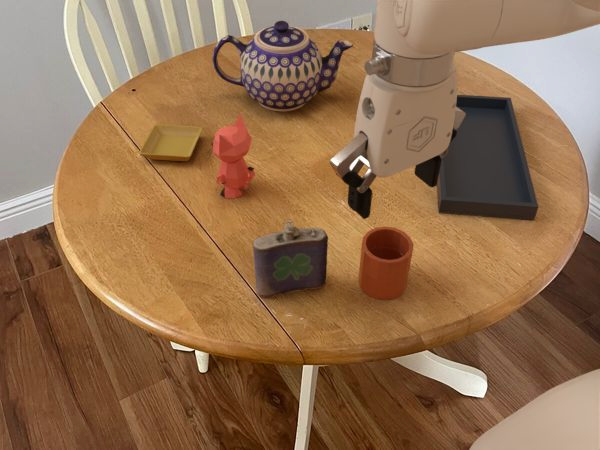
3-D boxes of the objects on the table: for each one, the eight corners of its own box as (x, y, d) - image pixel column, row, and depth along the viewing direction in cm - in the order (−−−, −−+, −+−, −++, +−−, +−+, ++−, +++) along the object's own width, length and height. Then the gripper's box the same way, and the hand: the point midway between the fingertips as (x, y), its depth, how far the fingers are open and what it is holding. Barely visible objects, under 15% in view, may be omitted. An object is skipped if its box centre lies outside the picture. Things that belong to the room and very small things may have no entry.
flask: (258, 300, 74) (253, 240, 67) (254, 283, 76) (249, 223, 69) (328, 287, 76) (331, 227, 68) (322, 271, 78) (324, 211, 70)
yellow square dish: (140, 163, 95) (137, 153, 94) (156, 133, 101) (154, 123, 100) (191, 167, 94) (190, 157, 93) (205, 136, 101) (203, 126, 99)
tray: (533, 220, 85) (538, 206, 83) (438, 212, 86) (441, 199, 84) (507, 110, 106) (510, 97, 104) (431, 105, 107) (433, 93, 106)
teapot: (209, 116, 105) (199, 39, 95) (224, 75, 116) (217, 1, 106) (348, 122, 103) (353, 44, 93) (351, 80, 114) (355, 5, 104)
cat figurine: (229, 170, 94) (221, 106, 85) (267, 181, 92) (263, 116, 83) (206, 197, 89) (195, 131, 81) (245, 209, 87) (239, 142, 79)
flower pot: (416, 287, 76) (423, 249, 71) (378, 307, 73) (383, 270, 68) (386, 257, 79) (391, 220, 75) (349, 276, 77) (352, 238, 72)
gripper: (362, 103, 49) (350, 244, 61) (507, 49, 56) (471, 186, 68) (313, 66, 54) (311, 204, 66) (452, 20, 60) (428, 153, 72)
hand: (392, 195), depth 67 cm, fingers open, 9 cm apart
